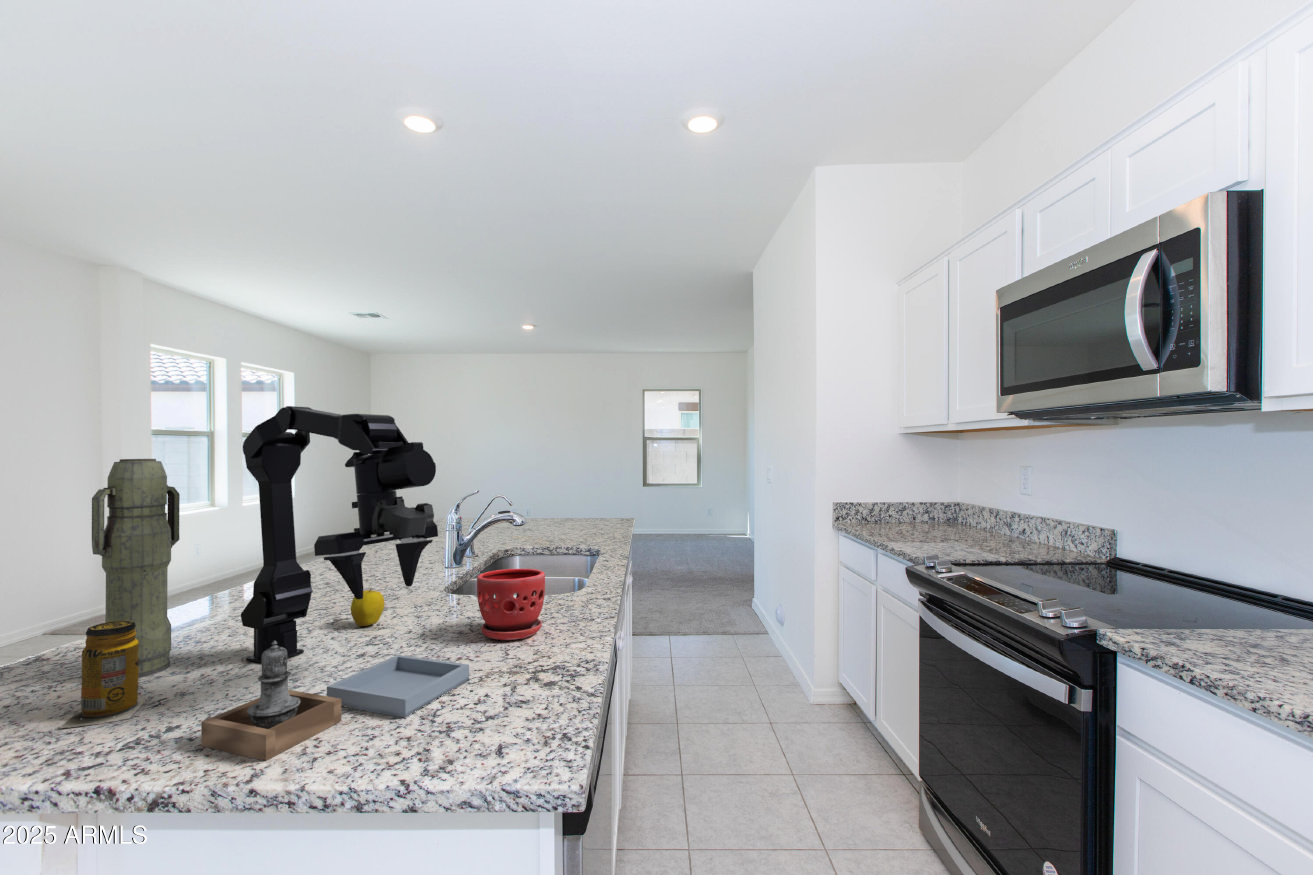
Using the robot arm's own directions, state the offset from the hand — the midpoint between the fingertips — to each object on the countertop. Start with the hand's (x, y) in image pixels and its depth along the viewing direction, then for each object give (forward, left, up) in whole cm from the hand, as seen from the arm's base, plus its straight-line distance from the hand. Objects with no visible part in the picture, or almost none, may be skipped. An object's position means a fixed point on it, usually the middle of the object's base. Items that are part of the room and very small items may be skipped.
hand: (385, 592), depth 95 cm
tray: (+5, -2, -14) cm, 15 cm away
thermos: (-43, -9, -14) cm, 46 cm away
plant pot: (+5, +28, -14) cm, 32 cm away
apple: (-26, +23, -14) cm, 38 cm away
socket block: (-1, -18, -14) cm, 23 cm away
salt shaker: (-1, -18, -14) cm, 23 cm away
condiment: (-29, -21, -15) cm, 39 cm away
